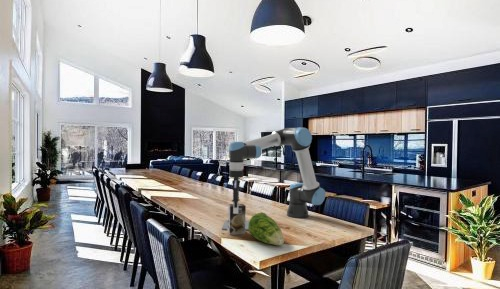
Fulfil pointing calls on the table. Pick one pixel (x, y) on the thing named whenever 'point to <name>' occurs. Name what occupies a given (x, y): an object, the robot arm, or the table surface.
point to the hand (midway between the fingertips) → (235, 213)
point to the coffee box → (236, 220)
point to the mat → (225, 226)
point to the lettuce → (265, 229)
